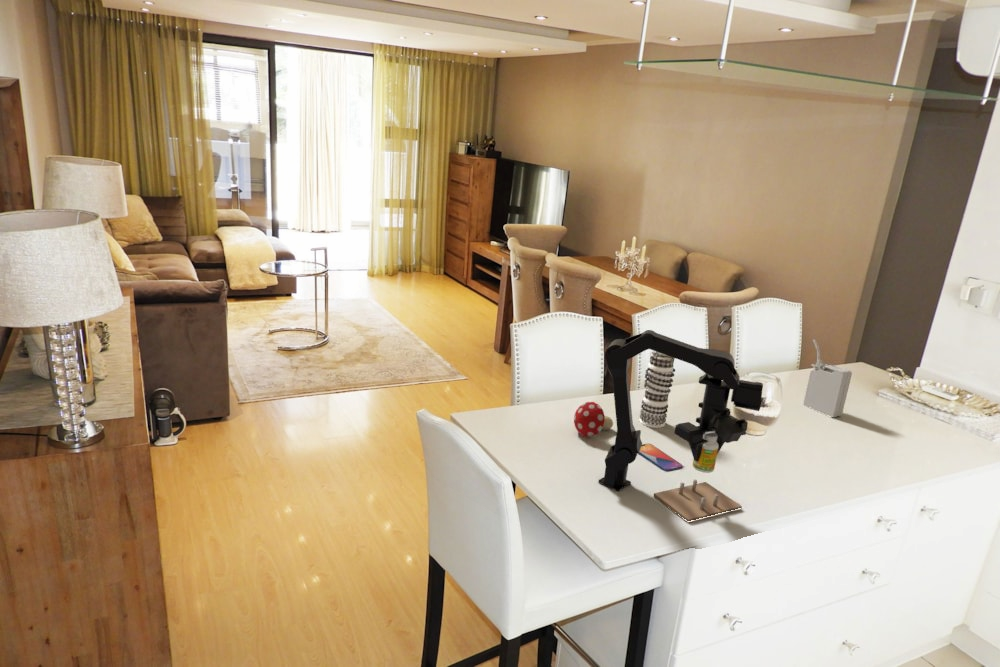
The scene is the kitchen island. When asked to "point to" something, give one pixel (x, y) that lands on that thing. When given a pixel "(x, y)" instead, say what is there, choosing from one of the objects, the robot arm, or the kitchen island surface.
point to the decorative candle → (657, 390)
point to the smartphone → (659, 458)
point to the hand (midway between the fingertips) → (704, 459)
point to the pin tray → (696, 501)
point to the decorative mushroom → (591, 419)
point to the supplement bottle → (707, 454)
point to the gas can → (827, 387)
